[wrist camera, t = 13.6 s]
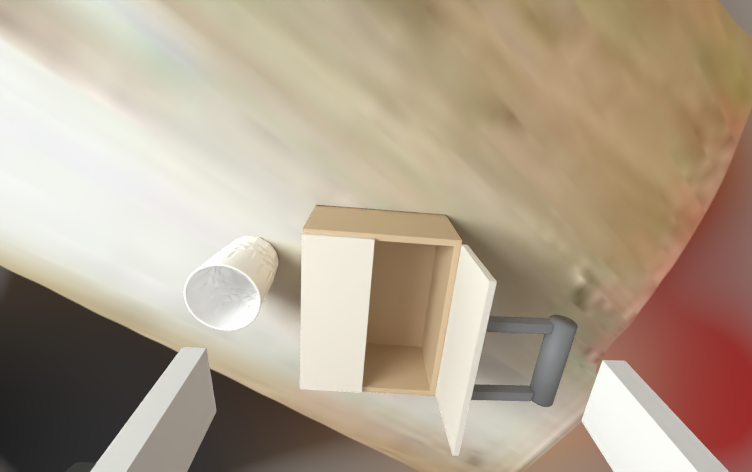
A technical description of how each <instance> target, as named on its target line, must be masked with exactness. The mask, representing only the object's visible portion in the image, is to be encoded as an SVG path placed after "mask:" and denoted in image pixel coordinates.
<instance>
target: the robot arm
mask: <svg viewBox="0 0 752 472" xmlns="http://www.w3.org/2000/svg"><path fill="white" fill-rule="evenodd" d="M215 413H216V405H215V400H214V393H213V387H212V381H211V374H210V368H209V362H208V355H207V349H206V348H193V347H182V349H181V350H180V351H179V353H178V354H177V355H176V357H175V358H174V359H173V361H172V362H171V363H170V365H169V366H168V367H167V369H166V370H165V371H164V373H163V374H162V376H161V377H160V378H159V380H158V381H157V382H156V384H155V385H154V386H153V388H152V389H151V390H150V392H149V393H148V395H147V396H146V397H145V398H144V400H143V401H142V403H141V404H140V405H139V407H138V408H137V409H136V411H135V412H134V413H133V415H132V416H131V417H130V419H129V420H128V422H127V423H126V424H125V425H124V427H123V428H122V430H121V431H120V432H119V434H118V435H117V436H116V438H115V439H114V440H113V442H112V443H111V444H110V446H109V447H108V448H107V450H106V451H105V452H104V454H103V455H102V456H101V458H100V459H99V460H98V462H97V463H83V462H77V463H76V464H74V465H73V466H72V467H70V468H69V469H68V470H67V471H65V472H187V470H188V468H189V466H190V464H191V462H192V460H193V458H194V456H195V454H196V451H197V450H198V448H199V446H200V444H201V442H202V439H203V438H204V435H205V433H206V431H207V429H208V427H209V425H210V423H211V421H212V419H213V417H214V415H215ZM581 421H582V422H583V424H584V426H585V427H586V429H587V430H588V432H589V434H590V435H591V437H592V438H593V440H594V441H595V443H596V444H597V446H598V448H599V449H600V451H601V453H602V454H603V456H604V457H605V459H606V460H607V462H608V464H609V465H610V467H611V468H612V470H613V471H614V472H728V470H727V469H726V468H725V467H724V466H723V465H722V464H721V463H720V462H719V461H718V460H717V459H716V458H715V457H714V455H713V454H712V453H711V452H710V451H709V450H708V449H707V448H706V447H705V446H704V445H703V444H702V443H701V442H700V440H699V439H698V438H697V437H696V436H695V435H694V434H693V433H692V432H691V431H690V430H689V429H688V428H687V427H686V425H685V424H684V423H682V421H681V420H680V419H679V418H678V417H677V416H676V415H675V414H674V413H673V412H672V410H670V409H669V407H668V406H667V405H666V404H665V403H664V402H663V401H662V400H661V399H660V398H659V397H658V396H657V394H656V393H655V392H654V391H653V390H652V389H651V388H650V387H649V386H648V385H647V384H646V383H645V382H644V381H643V379H641V377H640V376H639V375H638V374H637V373H636V372H635V371H634V370H633V369H632V368H631V367H630V366H629V365H628V363H627V362H625V361H615V360H612V361H611V360H602V363H601V366H600V369H599V372H598V375H597V378H596V380H595V383H594V386H593V389H592V392H591V395H590V398H589V400H588V403H587V406H586V409H585V412H584V415H583V418H582V420H581Z"/></svg>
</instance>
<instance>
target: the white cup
mask: <svg viewBox="0 0 752 472" xmlns="http://www.w3.org/2000/svg"><path fill="white" fill-rule="evenodd" d="M278 265H279V261H278V256H277V252H276V251H275V250H274V248H273V247H272V246H271V244H270V243H268V242H267V241H265V240H263V239H261V238H260V237H254V236H244V237H241V238H238V239H236V240H234V241H233V242H232V243H231V244H230V245H228V246H226V247H225V248H223V249H222V250H220V251H219V252H218V253H216V254H215V255H214V256H212V257H211V258H210V259H209V260H208V261H206V262H205V263H204V264H203V265H201V266H200V267H199V268H198V269H196V270H195V271H194V272H193V273H192V274H191V275H190V276H189V277H188V279H187V281H186V283H185V287H184V298H185V302H186V305H187V307H188V309H189V311H190V312H191V313H192V315H193V316H194V317H195V318H196V319H197V320H199V321H200V322H201V323H203V324H205V325H206V326H208V327H211V328H214V329H217V330H223V331H233V330H238V329H241V328H244V327H246V326H248V325H249V324H250V323H252V322H253V321H254V320H255V318H256V317H257V315H258V313H259V311H260V309H261V307H262V305H263V303H264V301H265V298H266V296H267V294H268V292H269V289H270V287H271V285H272V282H273V280H274V276H275V274H276V271H277V268H278Z"/></svg>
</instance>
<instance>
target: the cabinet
mask: <svg viewBox="0 0 752 472" xmlns="http://www.w3.org/2000/svg"><path fill="white" fill-rule="evenodd" d="M461 244H462V239H461V238H460V236H459V235H458V233H457V232H456V230H455V229H454V227H453V225H452V224H451V222H450V221H449V219H448V218H447V216H446V215H441V214H428V213H415V212H402V211H389V210H376V209H363V208H350V207H337V206H324V205H316V206H315V208H314V210H313V212H312V213H311V215H310V217H309V219H308V220H307V222H306V224H305V225H304V227H303V233H302V244H301V332H300V389H309V390H325V391H341V392H358V393H362V392H377V393H393V394H409V395H426V396H435V393H436V387H437V381H438V375H439V370H440V364H441V358H442V353H443V347H444V341H445V335H446V330H447V324H448V318H449V313H450V307H451V301H452V295H453V290H454V284H455V278H456V273H457V267H458V261H459V255H460V250H461Z"/></svg>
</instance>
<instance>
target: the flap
mask: <svg viewBox="0 0 752 472" xmlns="http://www.w3.org/2000/svg"><path fill="white" fill-rule="evenodd" d="M496 283H497V281H496V280H495V279H494V278H493V276H492V275H491V274H490V273H489V271H488V270H487V269H486V267H485V266H484V265H483V264H482V262H481V261H480V260H479V259H478V257H477V256H476V255H475V254H474V252H473V251H472V250H471V249H470V247H469V246H468V245H462V246H461V251H460V257H459V263H458V269H457V274H456V280H455V286H454V291H453V297H452V303H451V308H450V314H449V320H448V326H447V331H446V337H445V343H444V348H443V354H442V360H441V365H440V371H439V377H438V383H437V388H436V398H437V401H438V405H439V409H440V412H441V416H442V419H443V423H444V426H445V430H446V434H447V437H448V441H449V444H450V448H451V452H452V455H453V456H459V452H460V447H461V443H462V438H463V434H464V429H465V424H466V420H467V415H468V411H469V406H470V402H471V400H503V401H531V400H532V401H533V402H534V403H536V404H538V405H540V406H543V407H549V406H551V405H552V404H553V402H554V398H555V395H556V392H557V389H558V386H559V383H560V380H561V377H562V374H563V370H564V367H565V364H566V361H567V358H568V355H569V352H570V349H571V346H572V342H573V339H574V336H575V333H576V330H577V324H576V323H575V322H574V321H573V320H571V319H569V318H567V317H564V316H560V315H552V316H550V317H549V319H544V318H519V317H494V316H489V315H490V311H491V306H492V302H493V297H494V292H495V288H496ZM486 332H511V333H538V334H545V335H544V338H543V342H542V345H541V349H540V352H539V356H538V359H537V363H536V366H535V370H534V373H533V377H532V380H531V384H530V387H529V386H515V385H474V383H475V379H476V374H477V370H478V365H479V361H480V356H481V352H482V347H483V343H484V338H485V333H486Z"/></svg>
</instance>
